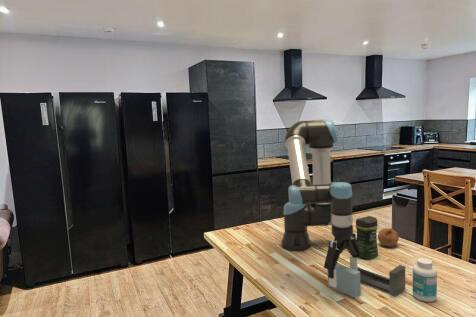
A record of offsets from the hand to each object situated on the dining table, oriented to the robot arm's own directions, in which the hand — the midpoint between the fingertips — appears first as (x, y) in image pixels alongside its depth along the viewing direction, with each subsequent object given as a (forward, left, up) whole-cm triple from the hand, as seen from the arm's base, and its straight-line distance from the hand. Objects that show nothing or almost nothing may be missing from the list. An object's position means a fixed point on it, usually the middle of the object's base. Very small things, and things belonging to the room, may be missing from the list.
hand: (343, 279), depth 119 cm
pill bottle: (+22, +16, -5) cm, 28 cm away
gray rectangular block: (0, 0, -5) cm, 5 cm away
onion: (-9, +52, -5) cm, 53 cm away
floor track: (+5, +13, -4) cm, 15 cm away
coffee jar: (-10, +34, -5) cm, 36 cm away
